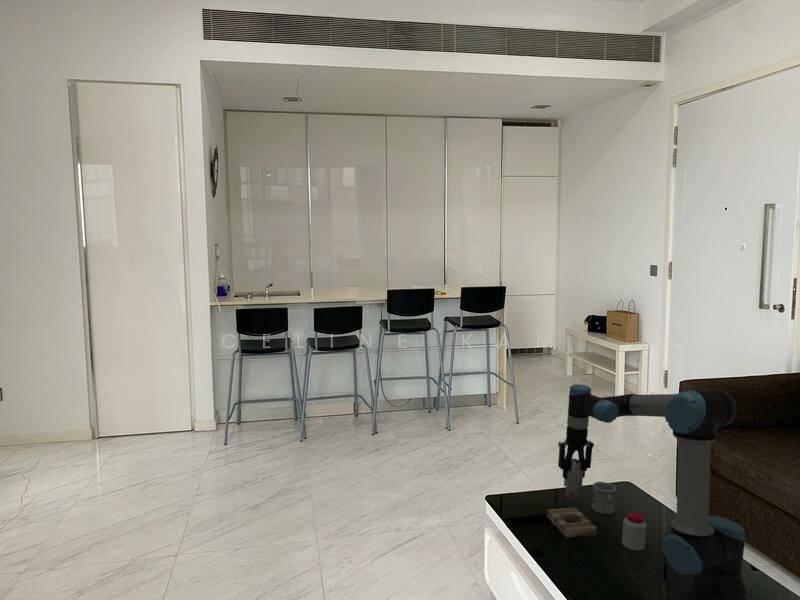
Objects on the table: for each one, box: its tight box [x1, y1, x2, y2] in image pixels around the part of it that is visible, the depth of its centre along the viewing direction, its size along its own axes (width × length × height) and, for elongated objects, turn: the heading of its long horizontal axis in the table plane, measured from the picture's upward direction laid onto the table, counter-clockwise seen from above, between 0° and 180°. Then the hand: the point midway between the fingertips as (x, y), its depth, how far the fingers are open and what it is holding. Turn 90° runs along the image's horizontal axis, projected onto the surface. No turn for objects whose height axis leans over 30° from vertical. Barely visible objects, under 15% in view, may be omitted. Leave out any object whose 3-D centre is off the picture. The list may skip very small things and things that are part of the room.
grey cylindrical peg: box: [565, 458, 581, 500], centre depth 224 cm, size 5×5×14 cm
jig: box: [546, 507, 598, 538], centre depth 225 cm, size 16×12×3 cm
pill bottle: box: [621, 511, 648, 551], centre depth 212 cm, size 8×8×11 cm
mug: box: [590, 481, 617, 515], centre depth 237 cm, size 12×9×10 cm
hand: (572, 485), depth 224 cm, fingers closed on grey cylindrical peg, 5 cm apart
